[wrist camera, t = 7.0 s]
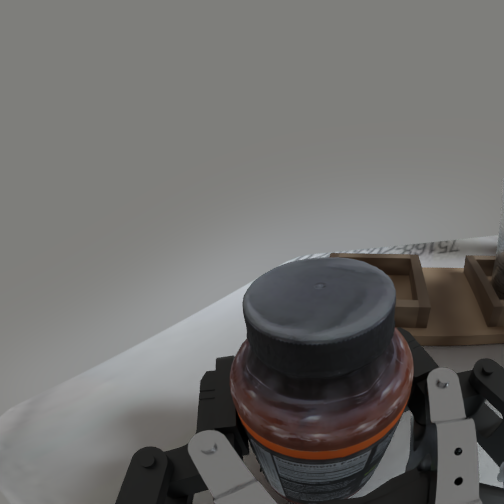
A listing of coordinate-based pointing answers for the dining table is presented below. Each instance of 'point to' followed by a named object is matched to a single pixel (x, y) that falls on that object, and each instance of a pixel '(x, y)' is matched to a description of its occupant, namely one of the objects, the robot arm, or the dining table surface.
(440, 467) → the robot arm
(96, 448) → the dining table surface
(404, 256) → the wooden divided tray
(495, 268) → the can
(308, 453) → the supplement bottle
